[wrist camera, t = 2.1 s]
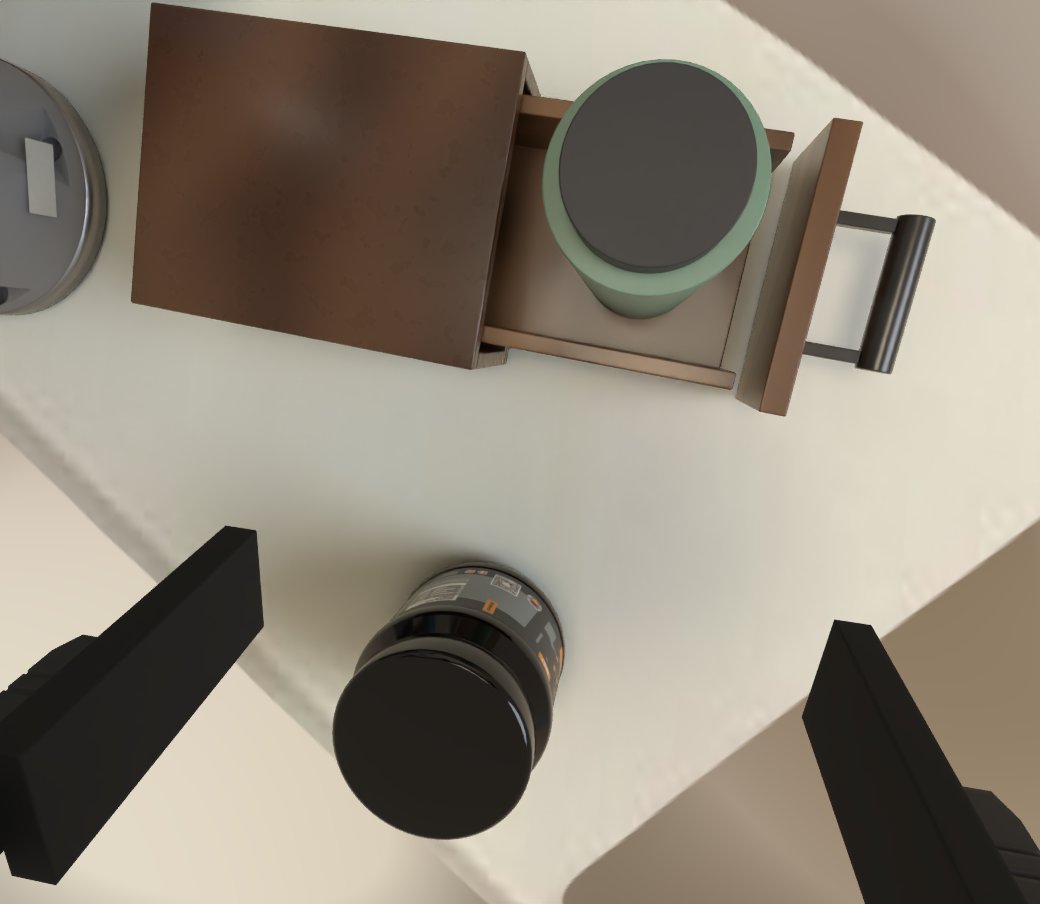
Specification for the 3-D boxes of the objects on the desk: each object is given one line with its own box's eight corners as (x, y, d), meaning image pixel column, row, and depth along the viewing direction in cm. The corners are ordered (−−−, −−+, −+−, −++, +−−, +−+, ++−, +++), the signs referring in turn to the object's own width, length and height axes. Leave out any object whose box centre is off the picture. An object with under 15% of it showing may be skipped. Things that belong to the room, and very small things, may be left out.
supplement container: (501, 743, 43) (453, 894, 31) (374, 643, 43) (279, 755, 31) (602, 627, 40) (590, 743, 29) (466, 522, 41) (400, 594, 29)
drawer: (916, 179, 33) (988, 138, 26) (848, 420, 35) (898, 438, 29) (504, 119, 36) (475, 67, 29) (466, 347, 38) (432, 347, 31)
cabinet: (549, 118, 36) (525, 51, 28) (506, 364, 39) (472, 370, 30) (255, 75, 38) (150, 1, 30) (232, 310, 41) (130, 302, 33)
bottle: (563, 282, 36) (492, 217, 17) (623, 179, 34) (615, -14, 16) (659, 340, 35) (693, 337, 17) (723, 238, 34) (837, 111, 15)
